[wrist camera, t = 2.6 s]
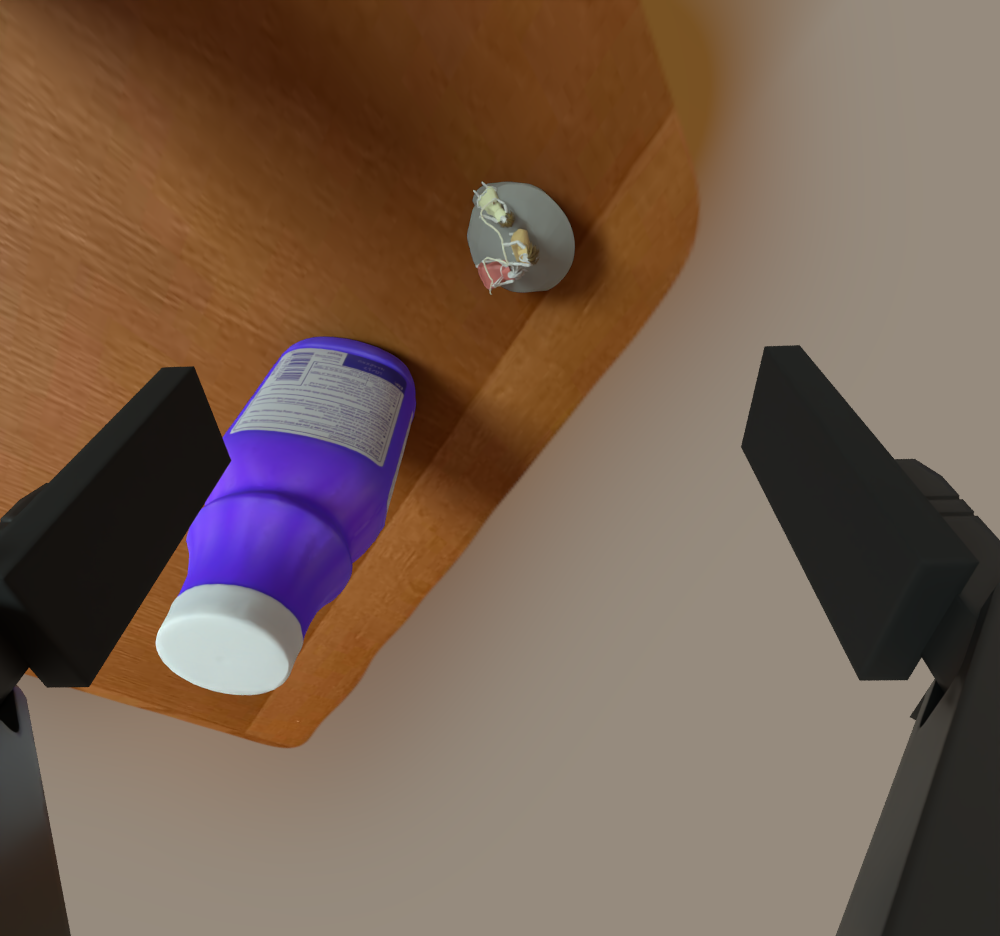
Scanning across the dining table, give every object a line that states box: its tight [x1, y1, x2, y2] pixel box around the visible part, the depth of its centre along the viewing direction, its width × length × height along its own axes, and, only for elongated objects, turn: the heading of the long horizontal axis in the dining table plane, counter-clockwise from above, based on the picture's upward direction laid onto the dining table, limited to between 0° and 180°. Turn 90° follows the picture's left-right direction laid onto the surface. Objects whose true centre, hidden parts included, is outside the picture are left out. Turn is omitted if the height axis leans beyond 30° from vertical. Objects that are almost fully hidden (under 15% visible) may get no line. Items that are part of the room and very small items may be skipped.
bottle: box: [156, 337, 416, 695], centre depth 25 cm, size 7×6×17 cm
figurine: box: [467, 182, 575, 295], centre depth 25 cm, size 5×4×6 cm
